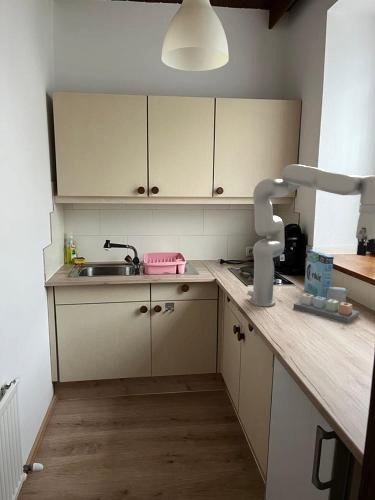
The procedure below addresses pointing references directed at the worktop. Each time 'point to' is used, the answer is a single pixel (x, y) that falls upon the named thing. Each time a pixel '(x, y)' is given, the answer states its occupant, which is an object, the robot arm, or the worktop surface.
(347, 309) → the peach cube
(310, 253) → the gum box
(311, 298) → the key
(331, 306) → the key
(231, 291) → the worktop surface
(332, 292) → the medicine box
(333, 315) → the keypad board
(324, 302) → the key
